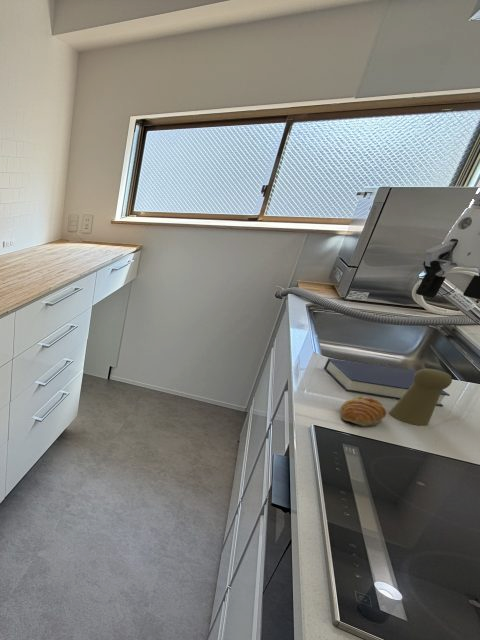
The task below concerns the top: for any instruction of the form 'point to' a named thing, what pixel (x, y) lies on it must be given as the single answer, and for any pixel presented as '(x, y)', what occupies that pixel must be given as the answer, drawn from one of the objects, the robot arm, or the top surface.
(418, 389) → the cork
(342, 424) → the top surface
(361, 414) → the pastry
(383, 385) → the book
